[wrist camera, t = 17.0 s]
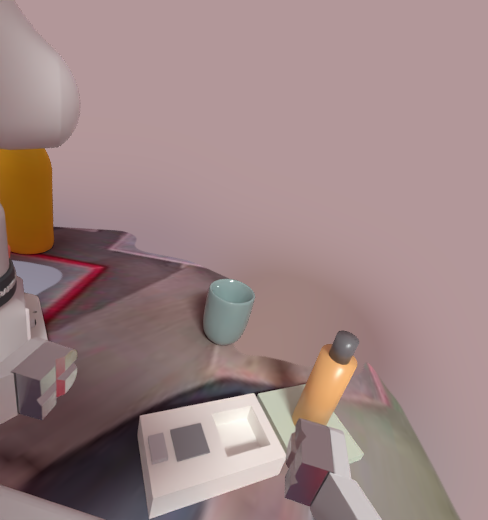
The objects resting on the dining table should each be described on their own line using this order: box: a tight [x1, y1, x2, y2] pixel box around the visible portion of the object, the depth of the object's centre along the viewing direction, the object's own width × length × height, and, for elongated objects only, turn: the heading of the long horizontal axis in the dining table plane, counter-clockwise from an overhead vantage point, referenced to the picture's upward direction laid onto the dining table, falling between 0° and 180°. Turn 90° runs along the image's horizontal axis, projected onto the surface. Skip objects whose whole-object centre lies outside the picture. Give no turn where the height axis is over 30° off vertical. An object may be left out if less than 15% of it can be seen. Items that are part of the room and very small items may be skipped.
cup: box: [203, 279, 255, 345], centre depth 56 cm, size 8×8×10 cm
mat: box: [257, 384, 364, 464], centre depth 44 cm, size 12×10×1 cm
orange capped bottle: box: [292, 331, 359, 425], centre depth 41 cm, size 4×4×15 cm
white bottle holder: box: [137, 393, 286, 519], centre depth 37 cm, size 15×9×4 cm, turn 113°
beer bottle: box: [0, 148, 54, 254], centre depth 65 cm, size 9×9×29 cm
